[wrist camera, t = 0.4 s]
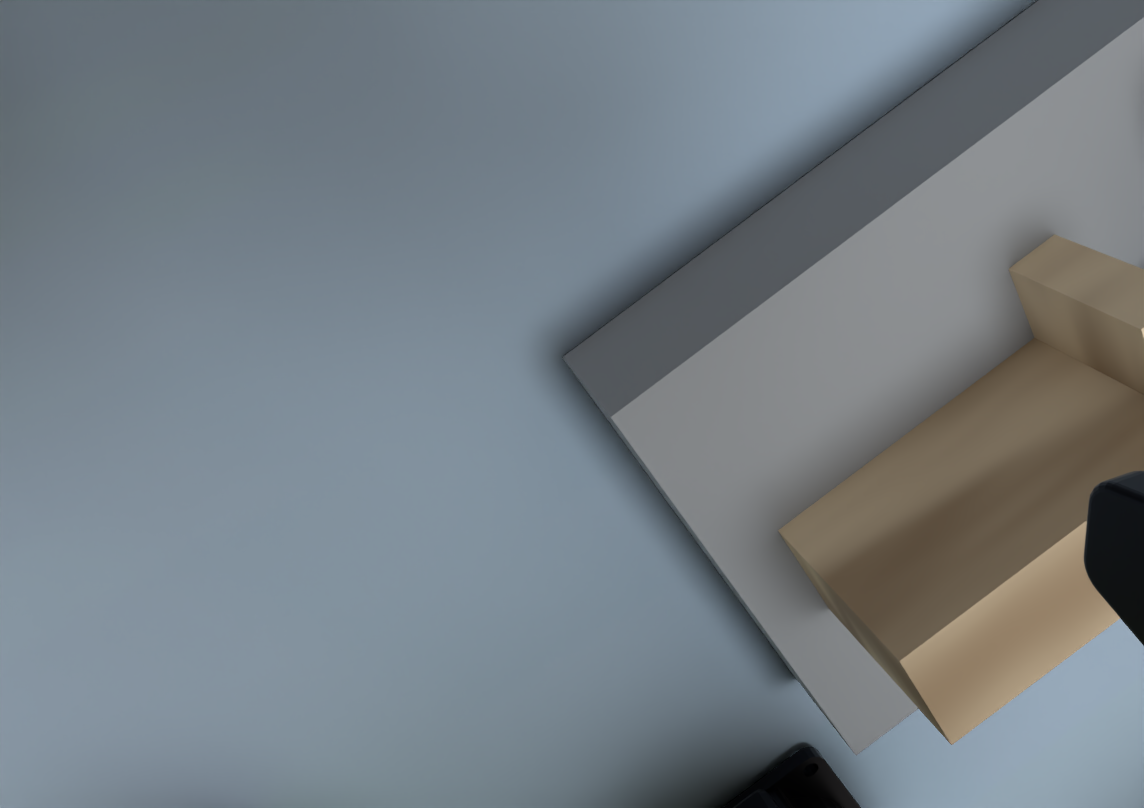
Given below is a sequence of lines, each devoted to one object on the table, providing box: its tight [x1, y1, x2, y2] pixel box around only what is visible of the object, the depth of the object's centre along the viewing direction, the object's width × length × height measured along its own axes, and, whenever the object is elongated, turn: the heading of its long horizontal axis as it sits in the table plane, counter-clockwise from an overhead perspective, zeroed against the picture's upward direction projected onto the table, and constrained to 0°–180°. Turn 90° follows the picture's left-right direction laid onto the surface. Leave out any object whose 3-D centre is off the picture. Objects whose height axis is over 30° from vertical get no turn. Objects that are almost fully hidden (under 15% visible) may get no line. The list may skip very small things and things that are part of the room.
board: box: [562, 0, 1144, 755], centre depth 25 cm, size 13×20×3 cm, turn 123°
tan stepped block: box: [778, 234, 1144, 745], centre depth 21 cm, size 10×12×4 cm
